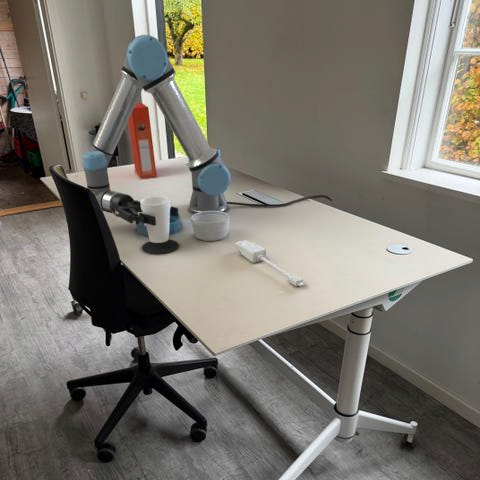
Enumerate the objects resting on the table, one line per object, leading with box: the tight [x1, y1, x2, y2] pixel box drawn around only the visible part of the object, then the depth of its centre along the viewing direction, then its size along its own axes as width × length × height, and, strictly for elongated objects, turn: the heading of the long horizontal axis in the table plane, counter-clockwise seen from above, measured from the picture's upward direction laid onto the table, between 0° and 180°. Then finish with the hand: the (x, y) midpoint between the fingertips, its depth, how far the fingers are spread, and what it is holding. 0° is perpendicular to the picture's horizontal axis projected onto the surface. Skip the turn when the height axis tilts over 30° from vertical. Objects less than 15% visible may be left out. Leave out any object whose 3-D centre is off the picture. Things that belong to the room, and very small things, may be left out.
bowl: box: [134, 214, 182, 236], centre depth 170 cm, size 16×16×4 cm
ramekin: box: [190, 211, 230, 242], centre depth 162 cm, size 13×13×7 cm
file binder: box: [127, 102, 158, 180], centre depth 229 cm, size 8×17×32 cm, turn 20°
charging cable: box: [234, 239, 306, 287], centre depth 141 cm, size 5×32×3 cm, turn 32°
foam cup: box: [139, 195, 172, 243], centre depth 152 cm, size 10×9×13 cm
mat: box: [141, 239, 179, 255], centre depth 156 cm, size 12×12×1 cm
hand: (166, 216), depth 148 cm, fingers closed on foam cup, 9 cm apart
